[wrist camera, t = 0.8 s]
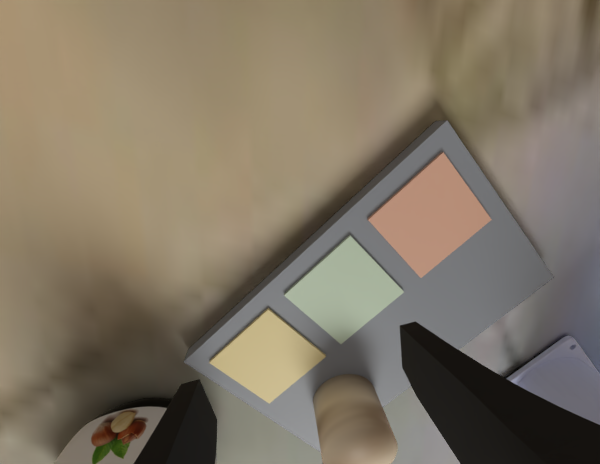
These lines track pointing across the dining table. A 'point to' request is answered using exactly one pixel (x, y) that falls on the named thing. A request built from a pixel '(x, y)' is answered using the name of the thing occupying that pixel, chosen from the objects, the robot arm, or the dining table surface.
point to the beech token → (352, 422)
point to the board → (375, 286)
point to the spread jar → (115, 434)
